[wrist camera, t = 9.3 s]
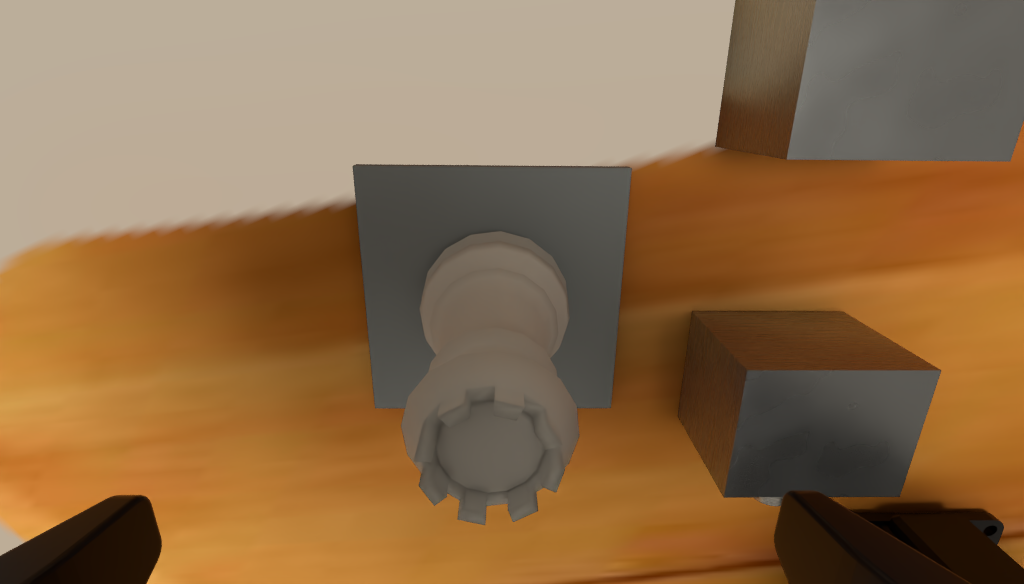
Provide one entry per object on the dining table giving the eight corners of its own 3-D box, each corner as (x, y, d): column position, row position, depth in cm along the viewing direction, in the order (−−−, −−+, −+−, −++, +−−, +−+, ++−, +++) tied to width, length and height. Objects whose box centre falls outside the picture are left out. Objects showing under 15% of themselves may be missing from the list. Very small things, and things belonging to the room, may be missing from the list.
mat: (608, 401, 18) (611, 408, 17) (377, 402, 18) (375, 408, 17) (628, 166, 15) (631, 168, 15) (356, 164, 15) (352, 166, 15)
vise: (808, 453, 19) (885, 540, 15) (672, 454, 19) (715, 541, 15) (921, -7, 14) (1079, -50, 10) (737, -10, 14) (825, -54, 10)
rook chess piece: (525, 381, 17) (544, 597, 10) (401, 326, 16) (315, 514, 9) (593, 266, 16) (675, 413, 8) (461, 201, 15) (419, 296, 7)
